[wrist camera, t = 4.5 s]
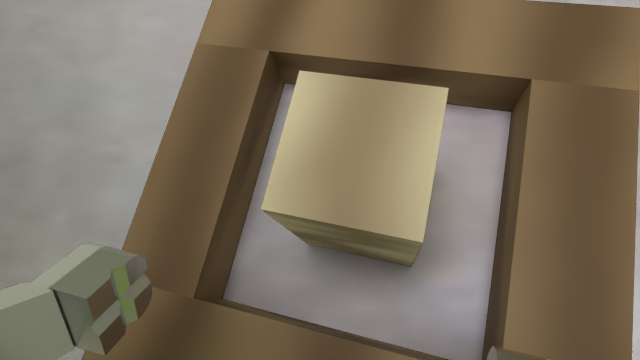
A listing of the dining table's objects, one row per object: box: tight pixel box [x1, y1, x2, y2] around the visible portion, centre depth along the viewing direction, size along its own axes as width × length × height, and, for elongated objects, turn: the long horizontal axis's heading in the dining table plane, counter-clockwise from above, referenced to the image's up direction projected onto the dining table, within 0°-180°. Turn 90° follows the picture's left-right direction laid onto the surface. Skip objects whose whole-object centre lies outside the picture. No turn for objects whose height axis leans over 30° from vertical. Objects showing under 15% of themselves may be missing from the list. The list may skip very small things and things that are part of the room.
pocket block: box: [82, 0, 640, 360], centre depth 18 cm, size 20×20×3 cm
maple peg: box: [261, 71, 449, 267], centre depth 16 cm, size 5×5×8 cm
